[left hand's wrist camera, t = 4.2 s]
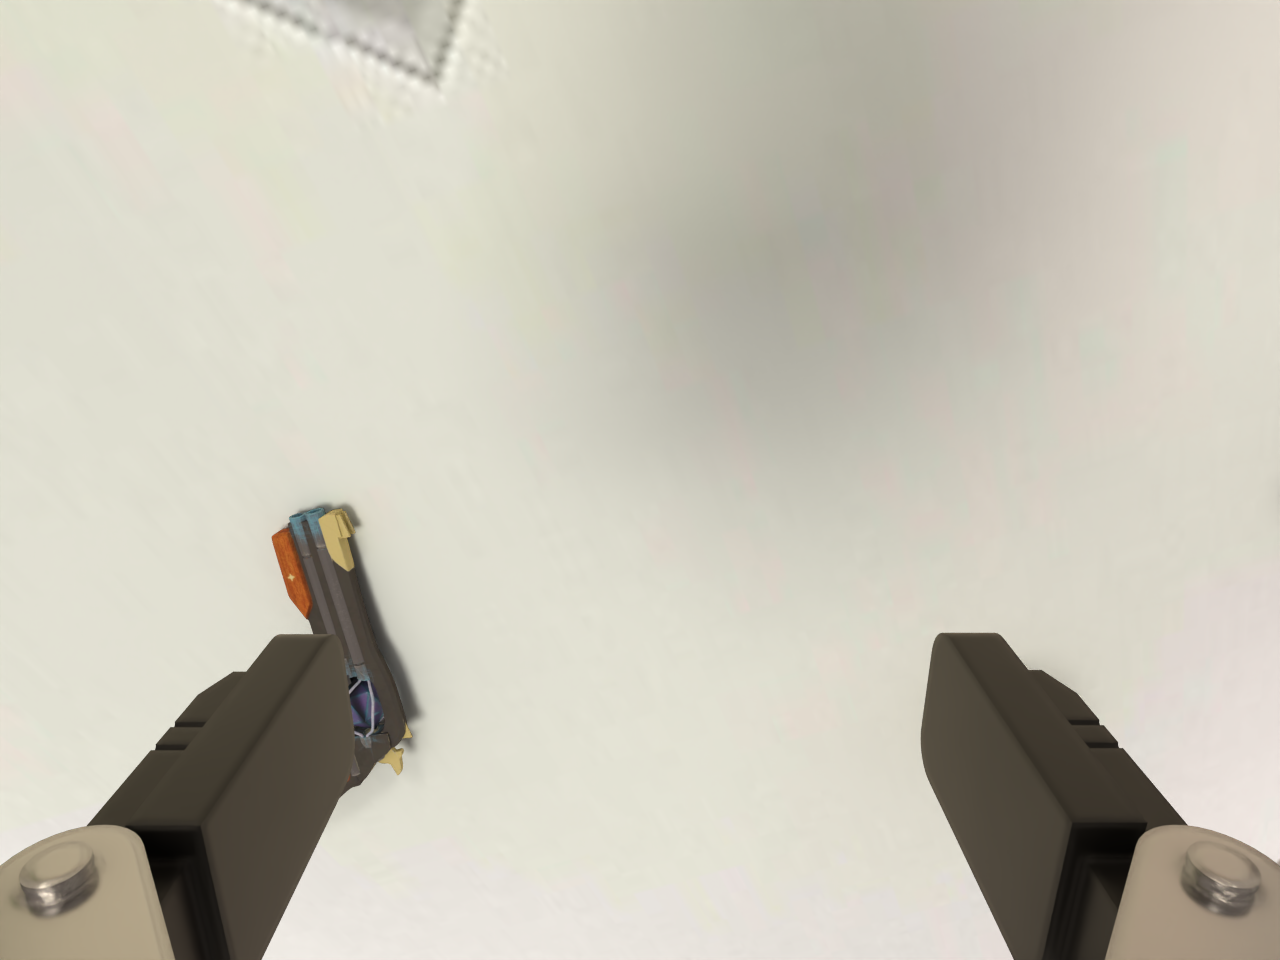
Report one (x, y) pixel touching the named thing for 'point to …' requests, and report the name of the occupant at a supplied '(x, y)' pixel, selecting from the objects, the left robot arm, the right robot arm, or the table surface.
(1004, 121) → the table surface
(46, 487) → the table surface
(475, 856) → the table surface
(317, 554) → the toy gun
